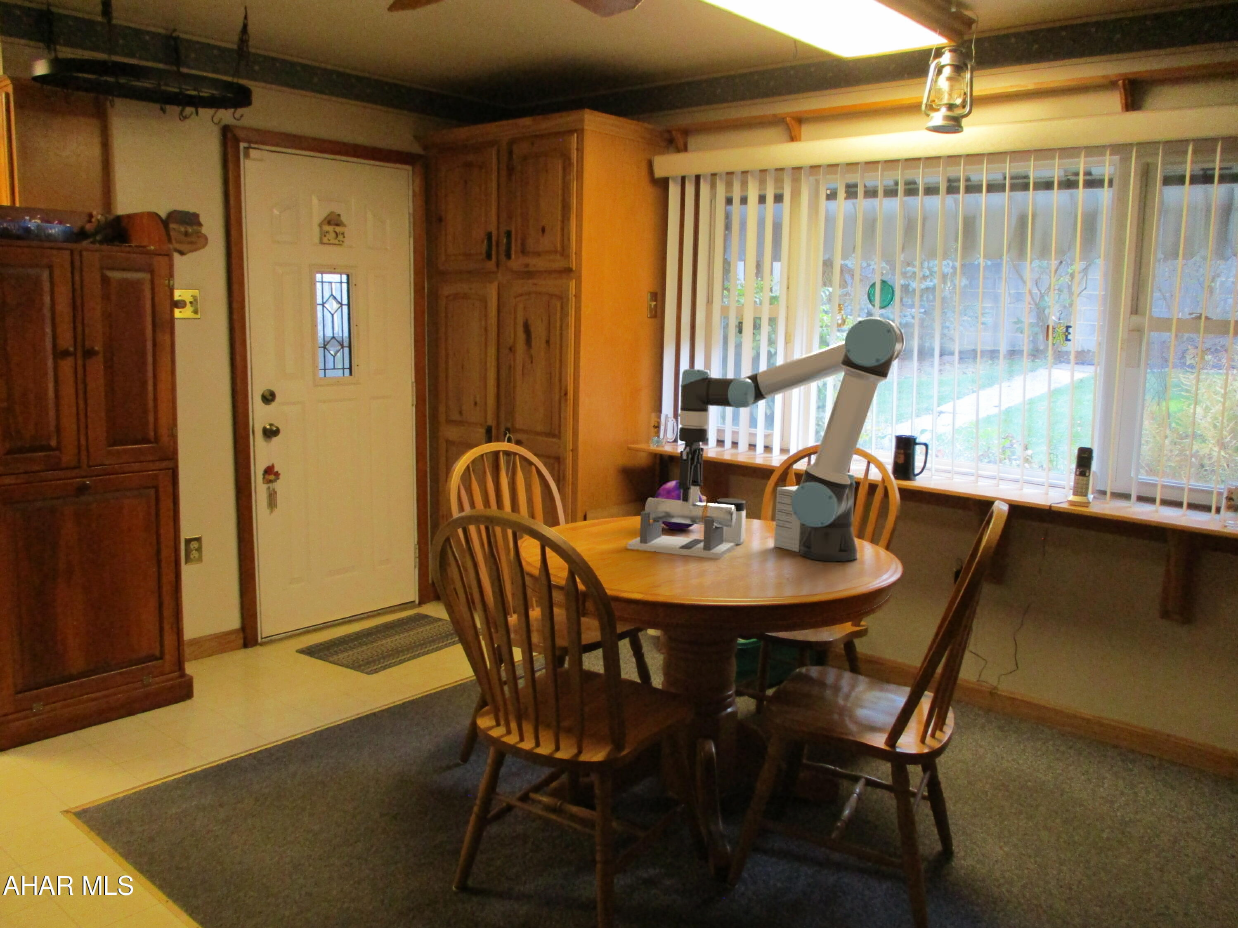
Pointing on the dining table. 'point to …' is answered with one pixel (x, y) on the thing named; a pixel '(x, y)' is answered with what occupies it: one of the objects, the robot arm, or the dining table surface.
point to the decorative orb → (673, 493)
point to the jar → (738, 529)
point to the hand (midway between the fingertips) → (689, 511)
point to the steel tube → (699, 512)
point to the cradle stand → (681, 540)
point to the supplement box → (787, 522)
